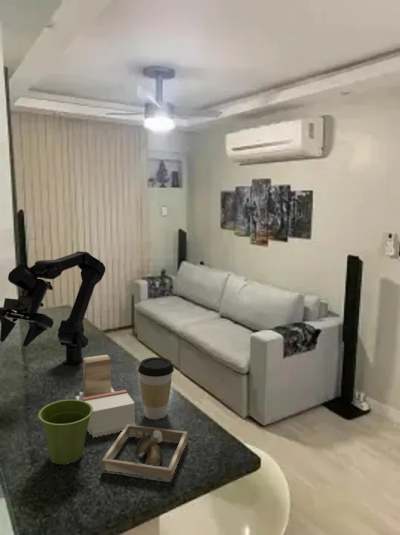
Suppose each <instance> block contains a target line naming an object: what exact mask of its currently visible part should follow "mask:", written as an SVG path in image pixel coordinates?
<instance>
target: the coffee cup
mask: <svg viewBox="0 0 400 535" xmlns="http://www.w3.org/2000/svg"><path fill="white" fill-rule="evenodd" d="M174 370H175V368H174V365H173V364H172V361H171V359H168V358H165V357H161V356H160V357H157V356H154V357H148V358H147V357H146V358H145V359H142V360H141V361H140V363H139V366H138V369H137V372H138V373H139V376H140V378H139V381H140V383H139V384H140V391H141V398H142V399H141V400H142V405H143V413H144V415H143V416H144V417H145V418H147V419H149V420H160V418H161V419H163V418H165V417H166V416H167V412H168V404H169V400H170V393H171V387H172V376H173V372H174Z"/></svg>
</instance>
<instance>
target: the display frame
mask: <svg viewBox="0 0 400 535" xmlns="http://www.w3.org/2000/svg"><path fill="white" fill-rule="evenodd" d="M154 430H159V431H160V432H161V433H162V440H163V441H170V442H179V444H178V445H177V447H176V449H175V451H174V453H173V456H172V459H171V461H170V464H169V465H168V467H167V466H166V467H165V466H161V465H160V466H153V465H147V464H145V463H137V462H132V461H127V460H126V461H124V460H119V459H114V457H115V456H116V454H117V453H118V451H119V450H120V448H121V447H122V446H123V444H124V443H125V441H126V440H127V439H128V440H129V438H130V437H129V436H133V437H138V436H137V435H136V433H135V432H134V431H137V432H138V433H139V434H140V435H142V434H143V432H145V435H149V433H150V434H151V432H152V435H151V437H152V436H153V432H154ZM128 437H129V438H128ZM128 440H127V441H128ZM127 441H126V442H127ZM186 443H187V444H188V431H184V430H183V431H182V430H178V429H177V430H176V429H170V428H169V429H167V428H162V427H161V428H160V427H152V426H147V425H146V426H145V425H138V424H135V425H131V424H127V425H126V426H125V428H124V429H123V431H122V432H120V434H119V435H118V436H117V438H116V439H115V441H114V442H113V444H112V445H111V446H110V448H109V449H108V450H107V452H106V453H105V455H104V456H103V458H102V459H101V471H102V470H107V471H114V472H122V473H129V474H138V475H142V476H143V475H144V476H150V477H155V478H162V479H167V480H171V479H172V476H173V474H174V472H175V469H176V467H177V464H178V462H179V460H180V457H181V455H182V452H183V450H184V451H185V449H186V447H185V445H186V446H187V444H186ZM125 444H126V443H125ZM125 444H124V445H125ZM123 447H124V446H123ZM123 447H122V448H123ZM184 448H185V449H184ZM120 451H121V450H120ZM183 453H184V452H183ZM118 454H119V453H118ZM182 456H183V455H182ZM116 457H117V456H116ZM181 458H182V457H181ZM113 459H114V460H113ZM180 461H181V460H180ZM179 463H180V462H179ZM177 468H178V467H177ZM175 473H176V472H175Z"/></svg>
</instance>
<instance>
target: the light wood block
mask: <svg viewBox="0 0 400 535" xmlns="http://www.w3.org/2000/svg"><path fill="white" fill-rule="evenodd" d="M82 365H83V366H82V367H83V368H82V369H83V393H84V395H85V397H89V396H94V395H100V394H105V393H111V387H112V381H111V380H112V375H111V374H112V372H111V370H112V359H111V357H110V356H109V355H108V354H101V355H94V356H87V357H84V358H83V362H82Z"/></svg>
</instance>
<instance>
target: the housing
mask: <svg viewBox="0 0 400 535" xmlns="http://www.w3.org/2000/svg"><path fill="white" fill-rule="evenodd" d="M75 400H81V401H85V402H87V403H89V404H90V405H91V406H92V407H93V412H92V414H91V416H90V419H89V423H88V425H87V432H89V433H88V434H89V435H91V437H92V436H93V437H92V438H93V439H94V437H96V438H99V437H98V436H100V437H103V436H102V435H105V436H108V435H107V434H109V435H112V434H111V433H113V434H117V432H118V433H121V432H120V431H123V429H124V428H125V426H126V425H127V424H131V425H136V422H135V421H136V420H135V414H136V411H135V410H136V408H135V407H136V404H135V401H134V400H133V398H131V396H130V394H129V393H128V391H127V389H122V390H118V391H117V390H116V391H115V390H114V388H113V386H111V393H105V394H100V395H94V396H89V397H85V395H84V391H79V392H78V395H77V396H75Z"/></svg>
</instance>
